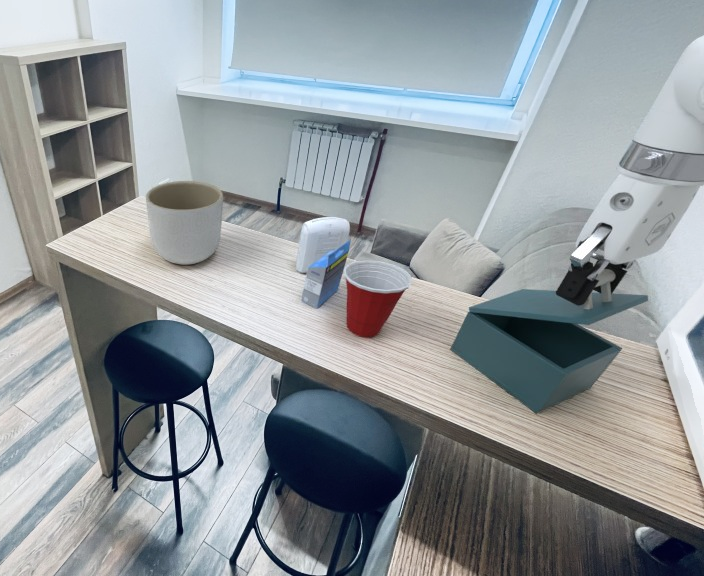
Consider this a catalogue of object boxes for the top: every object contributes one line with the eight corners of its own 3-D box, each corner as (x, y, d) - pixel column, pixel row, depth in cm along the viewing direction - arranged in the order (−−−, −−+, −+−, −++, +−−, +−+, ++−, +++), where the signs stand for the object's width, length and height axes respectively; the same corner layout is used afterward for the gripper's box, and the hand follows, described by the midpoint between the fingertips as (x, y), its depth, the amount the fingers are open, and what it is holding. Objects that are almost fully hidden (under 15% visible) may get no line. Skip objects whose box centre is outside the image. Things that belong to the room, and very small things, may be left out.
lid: (648, 300, 54) (645, 262, 54) (588, 325, 51) (585, 284, 50) (522, 293, 69) (519, 263, 68) (469, 312, 65) (465, 280, 64)
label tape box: (322, 283, 87) (332, 231, 80) (340, 290, 85) (352, 238, 78) (300, 301, 82) (309, 248, 75) (318, 310, 80) (329, 255, 73)
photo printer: (335, 261, 94) (346, 212, 87) (343, 271, 91) (355, 220, 84) (292, 265, 93) (300, 215, 86) (299, 275, 90) (307, 224, 83)
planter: (235, 253, 98) (239, 193, 89) (186, 282, 88) (184, 218, 80) (186, 231, 108) (184, 175, 99) (136, 255, 98) (129, 195, 89)
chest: (591, 387, 63) (623, 348, 58) (536, 414, 59) (565, 374, 54) (500, 330, 74) (521, 293, 69) (449, 349, 70) (467, 311, 65)
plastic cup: (368, 304, 81) (383, 252, 74) (406, 339, 72) (428, 283, 65) (320, 315, 78) (331, 262, 71) (354, 352, 70) (371, 296, 63)
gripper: (665, 183, 40) (571, 326, 50) (755, 162, 45) (653, 295, 55) (581, 162, 46) (512, 294, 56) (669, 145, 51) (591, 269, 61)
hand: (583, 293), depth 56 cm, fingers closed on lid, 5 cm apart
